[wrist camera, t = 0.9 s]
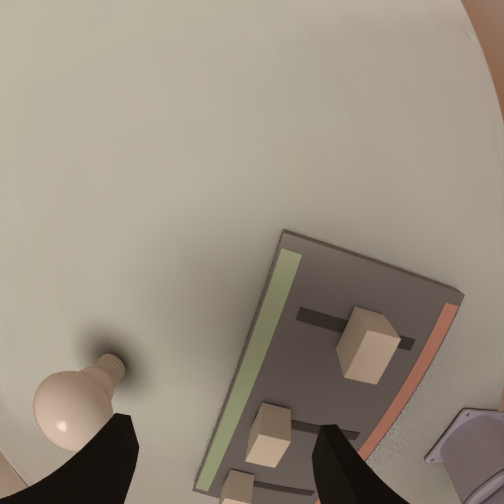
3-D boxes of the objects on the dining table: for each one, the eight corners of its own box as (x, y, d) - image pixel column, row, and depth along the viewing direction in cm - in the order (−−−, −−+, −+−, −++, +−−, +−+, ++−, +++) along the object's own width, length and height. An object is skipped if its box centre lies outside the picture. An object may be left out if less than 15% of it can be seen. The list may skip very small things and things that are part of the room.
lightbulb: (100, 388, 27) (43, 458, 16) (78, 332, 26) (4, 394, 15) (155, 391, 26) (105, 476, 16) (134, 330, 25) (64, 406, 14)
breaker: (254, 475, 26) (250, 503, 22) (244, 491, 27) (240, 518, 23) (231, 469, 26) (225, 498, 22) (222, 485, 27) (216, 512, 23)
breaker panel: (456, 288, 22) (465, 295, 20) (316, 506, 29) (316, 515, 27) (283, 229, 22) (283, 232, 21) (195, 481, 29) (192, 491, 28)
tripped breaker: (384, 314, 21) (400, 338, 17) (364, 355, 22) (376, 384, 18) (354, 306, 21) (367, 330, 17) (335, 348, 22) (344, 377, 18)
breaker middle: (290, 409, 23) (291, 441, 20) (276, 436, 24) (274, 467, 21) (262, 402, 24) (259, 434, 20) (250, 429, 24) (245, 461, 21)
